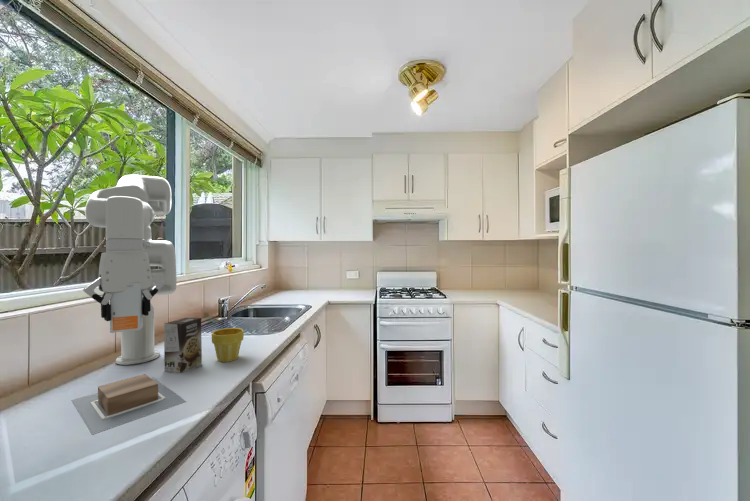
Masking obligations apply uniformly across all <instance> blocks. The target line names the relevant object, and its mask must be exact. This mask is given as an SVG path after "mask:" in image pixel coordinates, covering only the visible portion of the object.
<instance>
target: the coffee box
mask: <svg viewBox="0 0 750 501" xmlns="http://www.w3.org/2000/svg"><path fill="white" fill-rule="evenodd" d="M163 327H164V329H163V331H164V332H163V334H164V335H163V338H164V340H163V341H164V346H163V348H164V352H163V353H164V355H163V356H164V357H163V358H164V359H163V360H164V363H163V364H164V365H163V366H164V373H175V374H182V373H184V372H186V371H188V370H190V369H192V368H196V369H198V368H200V367H201V366H203V365H202V364H203V358H202V354H203V352H202V348H203V347H202V317H183V318H180V319H176V320H173V321H169V322H165V323H164V324H163Z"/></svg>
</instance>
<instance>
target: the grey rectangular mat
mask: <svg viewBox="0 0 750 501" xmlns="http://www.w3.org/2000/svg"><path fill="white" fill-rule="evenodd" d="M150 378H151V379H152V380H154V381H155V382H156V383H158V400H155V401H152V402H149V403H146V404H142V405H139V406H136V407H133V408H130V409H127V410H124V411H121V412H118V413H115V414H112V415H109V416H108V415H107V413H106V412H105V411H104V409H103V408H102V407H101V406H100V404H99V403H98V392H95V393H92V394H89V395H85V396H82V397H77V398H74V399H72V400H70V401H71V402H72V404H73V405H74V408H76V411H77V412H78V414H79V416H80V417H81V419H82V420H83V423H84V424H85V425H86V427H87V428H88V430H89V432H90V434H91V435H93V436H94V435H96V434H99V433H102V432H105V431H108V430H110V429H113V428H116V427H118V426H121V425H124V424H127V423H130V422H133V421H135V420H138V419H141V418H145V417H147V416H151V415H154V414H156V413H159V412H162V411H164V410H167V409H170V408H172V407H176V406H179V405H182V404H184V403H186V402H187V400H185V399H183V398H182V397H181V396H180V395H178V394H177V393H175V391H173V390H171V389H170V388H169V387H167V386H166V385H165V384H164V383H162V382H160V381H159V380H158V379H157V378H155V377H153V376H152V377H150Z"/></svg>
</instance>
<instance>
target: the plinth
mask: <svg viewBox="0 0 750 501" xmlns="http://www.w3.org/2000/svg"><path fill="white" fill-rule="evenodd" d="M151 378H152V377H150V376H149V375H147V374H146V373H145V374H140V375H137V376H132V377H128V378H125V379H121V380H117V381H114V382H110V383H105V384H103V385H99V386H97V393H98V403H99V404H100V406H101V407H102V408H103V409H104V411H105V412H106V413H107V415H108V416H109V415H112V414H115V413H118V412H121V411H124V410H127V409H130V408H133V407H136V406H139V405H142V404H146V403H149V402H152V401H155V400H158V383H156V382H155V381H154V380H152V379H151Z"/></svg>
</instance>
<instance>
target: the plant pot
mask: <svg viewBox="0 0 750 501" xmlns="http://www.w3.org/2000/svg"><path fill="white" fill-rule="evenodd" d="M244 334H245V333H244V329H243V328H240V327H227V328H226V327H225V328H220V329H216V330H213V331H212V333H211V343H212V344H213V346H214V350H215V355H216V359H217V361H218V362H221V363H224V362H225V363H227V362H231V361H235V360H237V359H238V358H239V355H240V349H241V344H242V341H244Z"/></svg>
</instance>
